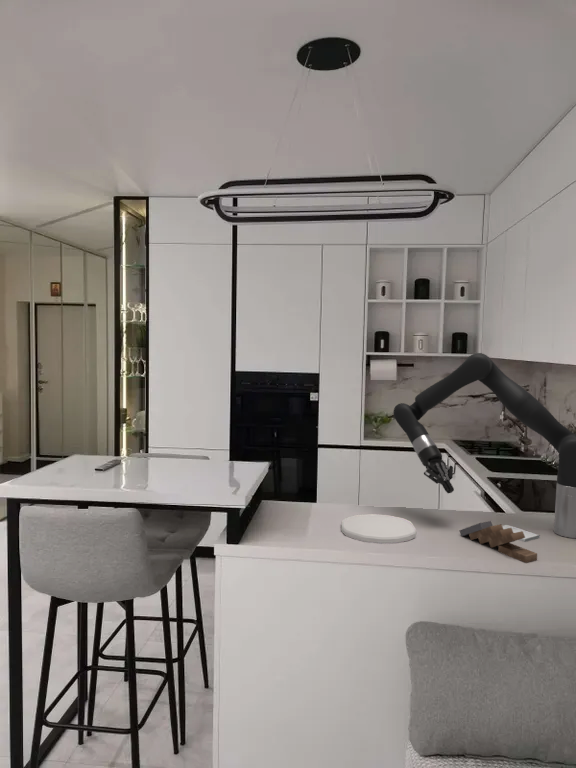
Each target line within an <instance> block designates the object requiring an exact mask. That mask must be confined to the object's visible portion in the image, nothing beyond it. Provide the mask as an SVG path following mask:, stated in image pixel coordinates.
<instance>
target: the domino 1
mask: <svg viewBox="0 0 576 768" xmlns="http://www.w3.org/2000/svg"><path fill="white" fill-rule="evenodd" d="M490 526H494V525H493V523H492V520H489V521H485V522H484V521H483V522H479V523H476V524H474V525H471V526H467V527H465V528H462V529H460V530H459V534H460V536H461V537H465V536H469V534H471V533H473V532H476V531H479V530H482V529H484V528H487V527H490Z"/></svg>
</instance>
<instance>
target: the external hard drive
mask: <svg viewBox="0 0 576 768" xmlns="http://www.w3.org/2000/svg"><path fill="white" fill-rule="evenodd" d="M502 527H503V529H508V528H512V531H513V533H517V532H521V531H523V533H524V536H525V538H523V539H520V540H519V541H521V542H522V543H526V542H529V541H533V540H537V539H540V538H541V537H540V536H541V535H539V534H538V533H537V534H536V533H534V532H531V531H528V530H525V529H522V528H518V527H515V526H512V525H509V524H504V525H502Z"/></svg>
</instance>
